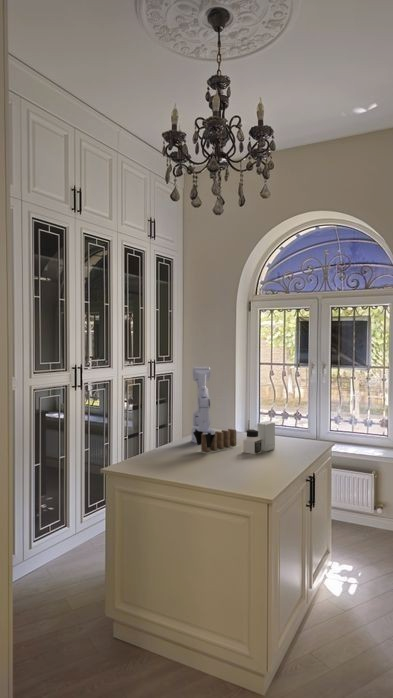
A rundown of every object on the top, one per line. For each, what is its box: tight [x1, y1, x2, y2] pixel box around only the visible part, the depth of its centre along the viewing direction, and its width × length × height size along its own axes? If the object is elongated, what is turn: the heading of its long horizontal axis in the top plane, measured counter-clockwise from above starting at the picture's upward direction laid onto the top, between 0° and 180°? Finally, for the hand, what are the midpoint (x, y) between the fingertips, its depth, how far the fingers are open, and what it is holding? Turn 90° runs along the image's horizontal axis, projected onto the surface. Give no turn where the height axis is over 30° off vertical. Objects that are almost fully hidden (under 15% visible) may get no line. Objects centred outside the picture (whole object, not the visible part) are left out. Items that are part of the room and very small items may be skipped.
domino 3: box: [221, 429, 231, 449], centre depth 254 cm, size 5×2×9 cm, turn 41°
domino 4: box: [227, 428, 237, 446], centre depth 257 cm, size 5×2×9 cm, turn 41°
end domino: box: [200, 434, 210, 453], centre depth 244 cm, size 5×2×9 cm, turn 41°
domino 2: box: [214, 430, 224, 449], centre depth 250 cm, size 5×2×9 cm, turn 41°
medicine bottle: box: [242, 428, 262, 456], centre depth 243 cm, size 7×7×12 cm
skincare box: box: [257, 420, 276, 452], centre depth 248 cm, size 8×6×15 cm
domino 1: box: [210, 434, 218, 452], centre depth 247 cm, size 5×2×9 cm, turn 41°
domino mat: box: [197, 444, 241, 455], centre depth 250 cm, size 8×26×1 cm, turn 131°
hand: (204, 445), depth 243 cm, fingers open, 7 cm apart
